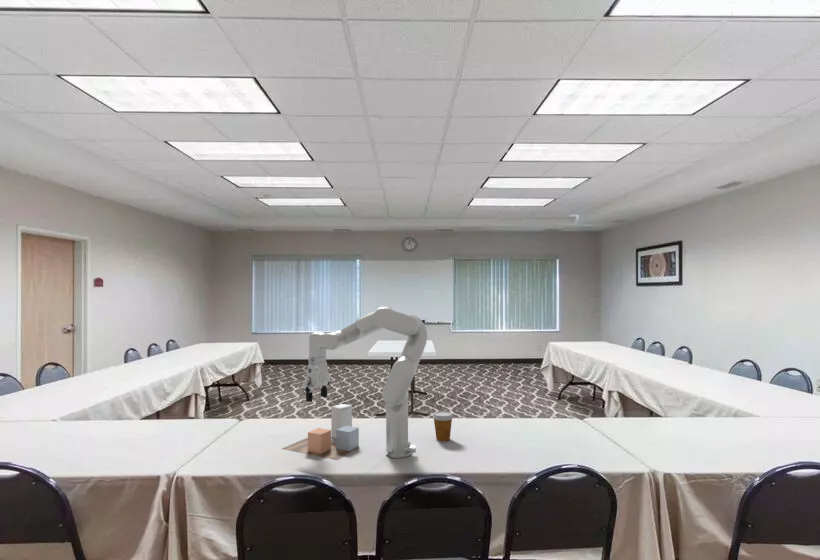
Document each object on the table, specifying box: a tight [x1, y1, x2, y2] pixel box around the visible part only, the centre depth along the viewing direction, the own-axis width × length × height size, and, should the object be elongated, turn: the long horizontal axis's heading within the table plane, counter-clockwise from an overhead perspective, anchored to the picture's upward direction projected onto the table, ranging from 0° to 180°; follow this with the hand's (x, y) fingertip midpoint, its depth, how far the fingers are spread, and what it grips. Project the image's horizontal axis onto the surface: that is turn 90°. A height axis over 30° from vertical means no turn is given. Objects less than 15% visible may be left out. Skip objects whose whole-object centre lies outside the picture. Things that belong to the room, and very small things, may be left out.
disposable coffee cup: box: [432, 410, 454, 442], centre depth 197 cm, size 10×10×12 cm
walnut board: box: [281, 437, 360, 461], centre depth 182 cm, size 30×16×2 cm, turn 63°
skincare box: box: [330, 403, 353, 439], centre depth 199 cm, size 8×7×16 cm
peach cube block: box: [307, 427, 332, 454], centre depth 180 cm, size 7×7×8 cm
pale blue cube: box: [335, 426, 360, 451], centre depth 183 cm, size 7×7×8 cm
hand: (316, 399), depth 185 cm, fingers open, 9 cm apart
